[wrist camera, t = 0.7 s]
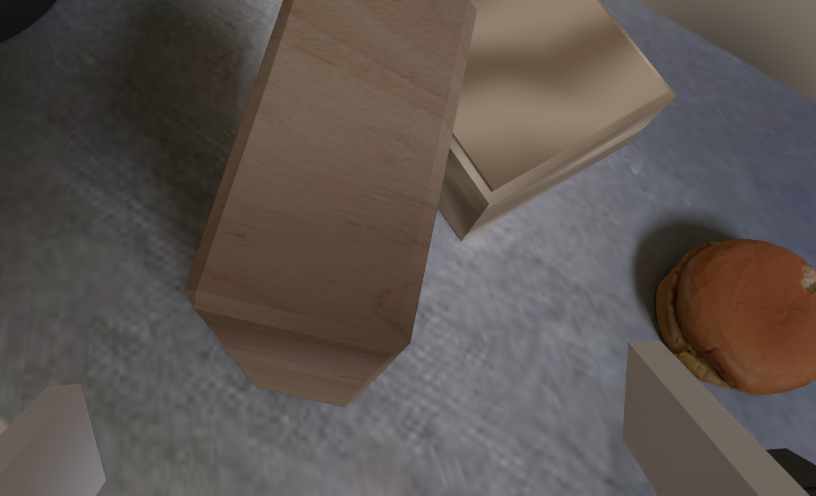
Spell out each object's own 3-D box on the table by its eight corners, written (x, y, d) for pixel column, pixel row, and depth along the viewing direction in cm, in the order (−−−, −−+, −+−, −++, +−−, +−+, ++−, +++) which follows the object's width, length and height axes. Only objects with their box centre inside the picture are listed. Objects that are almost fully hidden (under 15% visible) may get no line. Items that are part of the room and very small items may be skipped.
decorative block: (303, 202, 36) (301, -63, 18) (395, 226, 37) (489, -6, 18) (246, 385, 32) (166, 298, 14) (349, 410, 33) (408, 359, 14)
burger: (626, 328, 37) (670, 312, 33) (695, 223, 40) (743, 195, 36) (757, 434, 36) (819, 432, 32) (816, 318, 40) (880, 302, 35)
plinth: (358, 89, 39) (368, 25, 33) (525, 12, 43) (559, -57, 38) (461, 241, 37) (491, 201, 31) (626, 144, 41) (679, 93, 35)
